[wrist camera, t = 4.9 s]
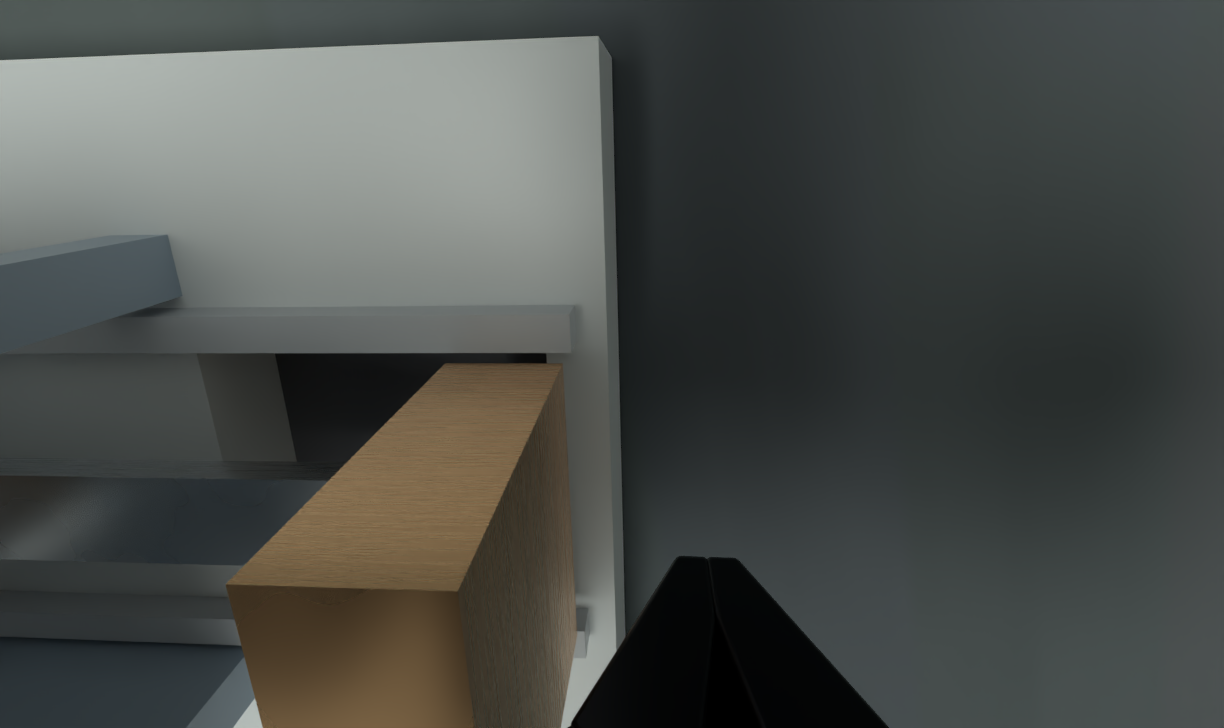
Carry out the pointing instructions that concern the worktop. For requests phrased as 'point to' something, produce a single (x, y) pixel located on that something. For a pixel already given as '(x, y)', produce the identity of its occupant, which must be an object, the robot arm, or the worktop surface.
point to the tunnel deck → (286, 312)
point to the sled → (361, 554)
